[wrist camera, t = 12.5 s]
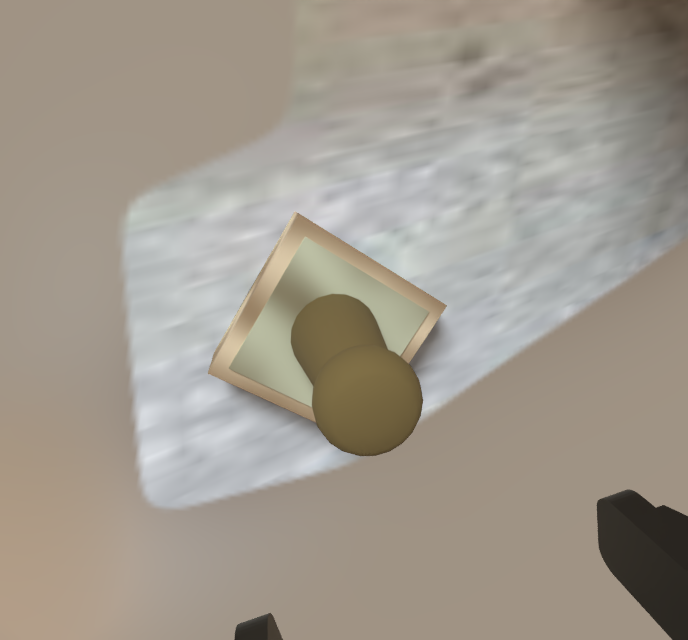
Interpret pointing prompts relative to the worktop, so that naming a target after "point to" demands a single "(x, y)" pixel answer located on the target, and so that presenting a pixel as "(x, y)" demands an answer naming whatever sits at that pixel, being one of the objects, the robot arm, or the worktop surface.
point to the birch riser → (294, 294)
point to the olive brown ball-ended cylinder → (355, 377)
